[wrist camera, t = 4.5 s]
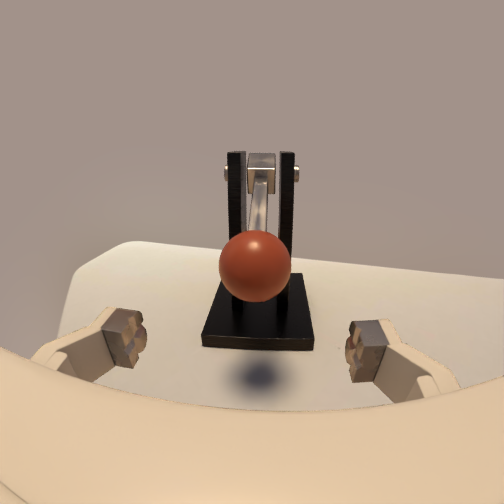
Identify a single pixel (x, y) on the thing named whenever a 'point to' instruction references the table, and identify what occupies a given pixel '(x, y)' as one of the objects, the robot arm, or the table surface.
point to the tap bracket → (277, 308)
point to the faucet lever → (256, 242)
